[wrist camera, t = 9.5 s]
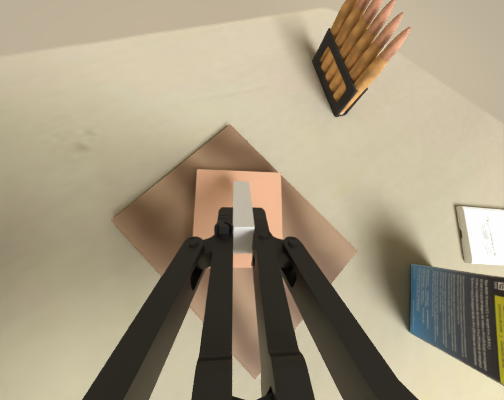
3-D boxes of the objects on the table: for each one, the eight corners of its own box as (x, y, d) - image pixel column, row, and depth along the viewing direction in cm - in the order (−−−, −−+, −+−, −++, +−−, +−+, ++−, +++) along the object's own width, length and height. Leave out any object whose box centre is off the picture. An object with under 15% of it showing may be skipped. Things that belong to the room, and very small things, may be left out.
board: (253, 372, 21) (254, 379, 20) (115, 221, 22) (110, 220, 21) (352, 250, 25) (357, 250, 24) (230, 128, 26) (230, 124, 25)
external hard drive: (531, 266, 28) (459, 262, 27) (519, 212, 30) (451, 207, 29) (549, 267, 27) (474, 263, 25) (535, 211, 28) (464, 205, 27)
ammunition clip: (345, 115, 29) (422, 34, 17) (335, 117, 29) (406, 36, 17) (322, 59, 31) (377, -50, 19) (311, 60, 30) (362, -49, 19)
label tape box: (434, 337, 24) (638, 440, 12) (405, 332, 24) (584, 431, 12) (434, 268, 26) (610, 296, 14) (407, 262, 26) (564, 285, 14)
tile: (283, 267, 20) (280, 172, 22) (190, 268, 19) (197, 169, 21) (278, 264, 23) (276, 178, 25) (194, 265, 21) (200, 175, 24)
